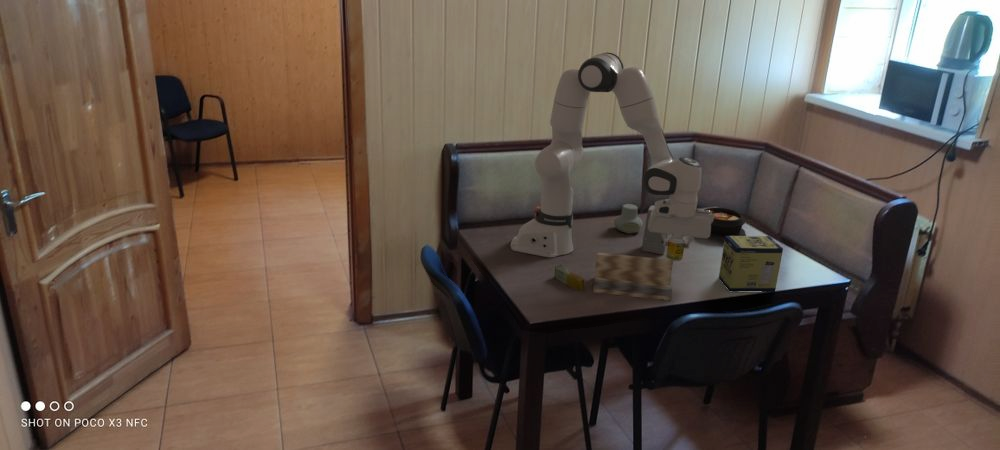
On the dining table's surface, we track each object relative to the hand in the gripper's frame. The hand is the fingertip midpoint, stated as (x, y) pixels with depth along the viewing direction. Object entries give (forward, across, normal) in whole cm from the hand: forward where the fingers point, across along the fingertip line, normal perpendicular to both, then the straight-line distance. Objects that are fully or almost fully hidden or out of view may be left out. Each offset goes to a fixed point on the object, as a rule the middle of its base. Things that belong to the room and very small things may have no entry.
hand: (675, 246), depth 240 cm
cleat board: (+10, +13, +16) cm, 23 cm away
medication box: (+11, +33, +17) cm, 39 cm away
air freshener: (+10, +15, -36) cm, 40 cm away
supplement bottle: (+4, 0, 0) cm, 4 cm away
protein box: (+9, -24, +4) cm, 26 cm away
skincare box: (+10, +5, -19) cm, 22 cm away
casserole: (+10, -20, -42) cm, 48 cm away
